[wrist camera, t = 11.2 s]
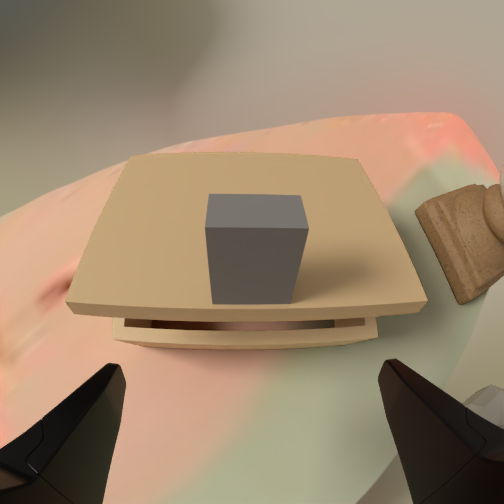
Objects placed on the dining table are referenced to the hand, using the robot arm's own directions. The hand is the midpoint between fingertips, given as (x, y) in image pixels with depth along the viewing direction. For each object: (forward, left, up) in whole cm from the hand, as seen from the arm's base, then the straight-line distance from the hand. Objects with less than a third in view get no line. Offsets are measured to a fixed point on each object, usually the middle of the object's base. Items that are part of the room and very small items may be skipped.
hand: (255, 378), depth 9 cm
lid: (+6, -5, -5) cm, 9 cm away
